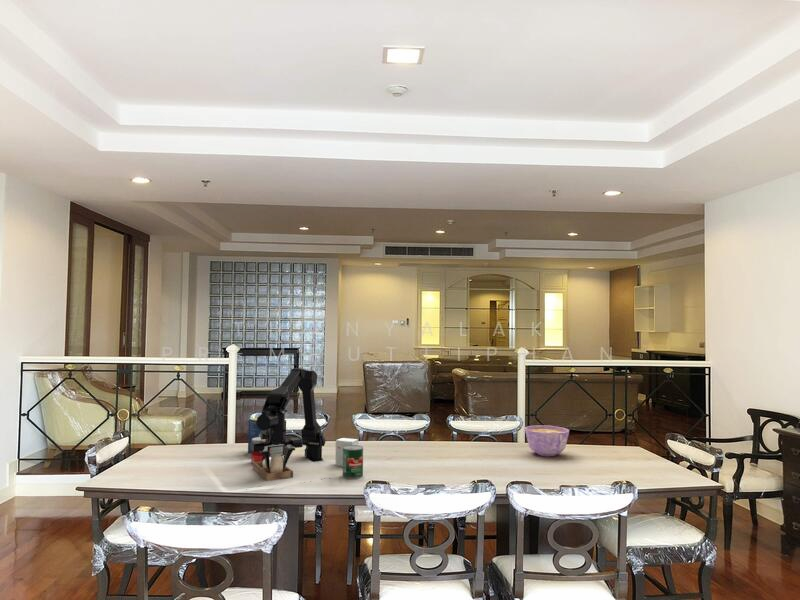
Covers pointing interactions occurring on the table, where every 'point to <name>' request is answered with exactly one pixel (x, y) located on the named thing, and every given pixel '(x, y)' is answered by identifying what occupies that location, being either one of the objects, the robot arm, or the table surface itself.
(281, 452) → the protein box
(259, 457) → the canned food
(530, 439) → the bowl of food
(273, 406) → the robot arm
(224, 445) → the table surface
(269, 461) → the ball
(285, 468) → the crate
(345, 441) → the small box
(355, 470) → the canned tomato
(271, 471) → the cylinder
